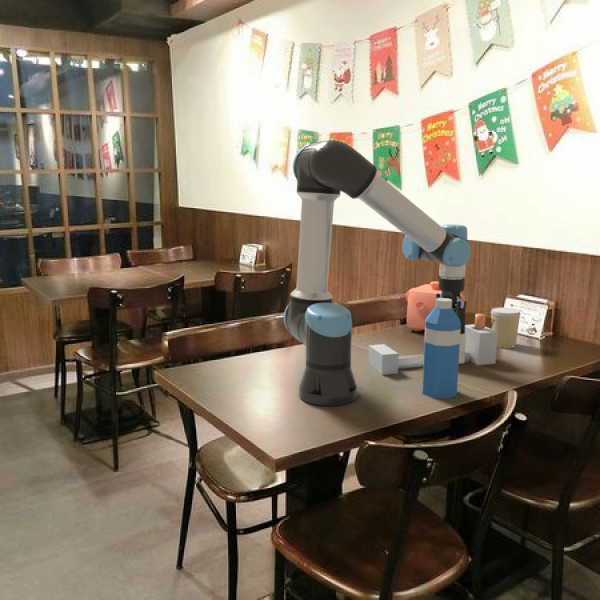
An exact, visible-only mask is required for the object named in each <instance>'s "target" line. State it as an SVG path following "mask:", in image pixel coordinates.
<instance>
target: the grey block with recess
mask: <svg viewBox="0 0 600 600" xmlns="http://www.w3.org/2000/svg"><path fill="white" fill-rule="evenodd" d="M465 328H466V342H465V350H467V351H469V352H470V362H471V363H473V364H475V365H477V366H486V365H494V364H496V362H497V348H498V347H497V335H498V332H497V331H495V330H492V329H491V327H487V326H485V328H484V329H478V328H475V323H474V324H473V323H472V324H465Z"/></svg>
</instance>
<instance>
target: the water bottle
mask: <svg viewBox="0 0 600 600" xmlns="http://www.w3.org/2000/svg"><path fill="white" fill-rule="evenodd" d="M460 330H461V322H460V320H459V318H458V317H457V315H456V313H455V312H454V310H453V309H452V299H448V298H438V299H436V306H435V308H434V309H433V310H432V311H431V312H430V314H429V315H428V316H427V317H426V319H425V330H424V342H423V343H424V345H423V347H424V348H423V354H424V365H423V366H422V367H423V371H422V395H426V396H428V397H430V398H433V399H450V398H453V397H456V396H458V381H459V379H458V378H459V365H460V364H459V347H460Z"/></svg>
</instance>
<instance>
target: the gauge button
mask: <svg viewBox="0 0 600 600" xmlns="http://www.w3.org/2000/svg"><path fill="white" fill-rule="evenodd" d="M474 315H475V316H474V324H475V328H478V329H484V328H485V327H486V316H487V315H486V314H484V313H475V314H474Z"/></svg>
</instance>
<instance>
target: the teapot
mask: <svg viewBox="0 0 600 600" xmlns="http://www.w3.org/2000/svg"><path fill="white" fill-rule="evenodd" d="M438 286H439V281H431V282H430V283H428V284H427V283H425V284H422V285H420V286H417V287H412V288H410V289H409V290H408V291H406V295H405V298H406V301H407V308H406V311H407V312H406V327H407V328H411V329H413V331H414V332H424V331H425V319H426V317H427V316H428V315H429V314H430V312H431V311H432V310H433V309H434V308H435V306H436V294H437V293H442V291H441V290H439V288H438ZM462 292H463V291H461V292H460V296H461V300H462V301H466V302H467V299H466V297H465V296H464V295H463V293H462Z"/></svg>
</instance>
